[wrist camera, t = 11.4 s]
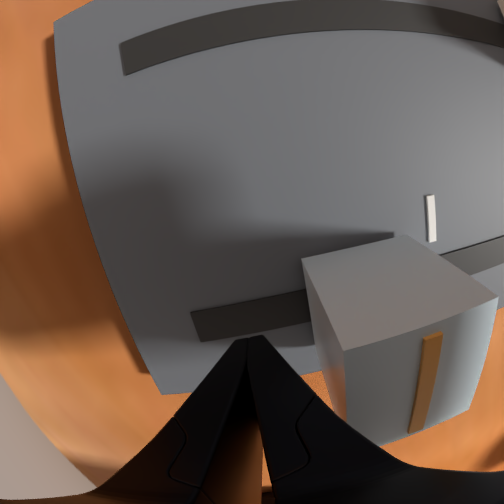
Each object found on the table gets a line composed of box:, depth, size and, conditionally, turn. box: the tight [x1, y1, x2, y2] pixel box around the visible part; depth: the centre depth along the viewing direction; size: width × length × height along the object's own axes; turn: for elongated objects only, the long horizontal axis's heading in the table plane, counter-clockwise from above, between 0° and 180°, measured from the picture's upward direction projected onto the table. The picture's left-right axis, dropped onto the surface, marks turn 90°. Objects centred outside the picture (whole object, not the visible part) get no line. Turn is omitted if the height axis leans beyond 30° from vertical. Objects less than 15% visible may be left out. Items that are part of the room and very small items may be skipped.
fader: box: [301, 235, 499, 446], centre depth 7 cm, size 4×4×5 cm
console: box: [54, 0, 504, 395], centre depth 8 cm, size 15×22×2 cm
